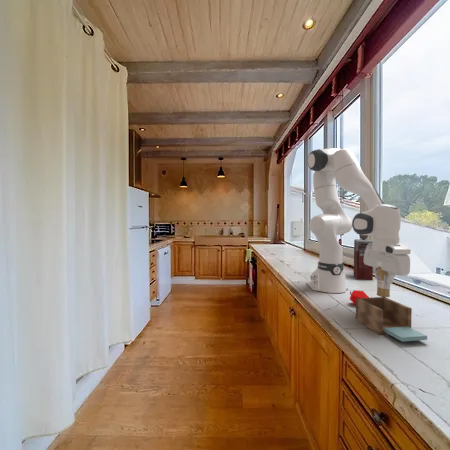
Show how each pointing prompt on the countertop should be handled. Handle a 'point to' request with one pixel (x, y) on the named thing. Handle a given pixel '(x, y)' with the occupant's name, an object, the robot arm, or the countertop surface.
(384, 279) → the sprinkles bottle
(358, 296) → the apple
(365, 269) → the toy vending machine
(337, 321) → the countertop surface
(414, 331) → the panel
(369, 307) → the crate
